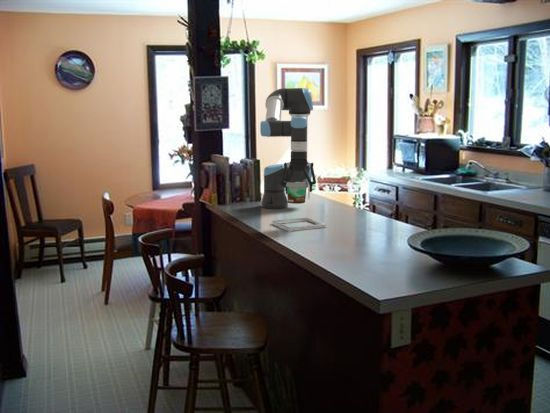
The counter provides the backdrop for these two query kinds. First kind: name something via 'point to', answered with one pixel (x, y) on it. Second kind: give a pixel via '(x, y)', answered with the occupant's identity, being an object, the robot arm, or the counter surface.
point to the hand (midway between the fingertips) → (298, 198)
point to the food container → (296, 192)
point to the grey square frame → (319, 225)
